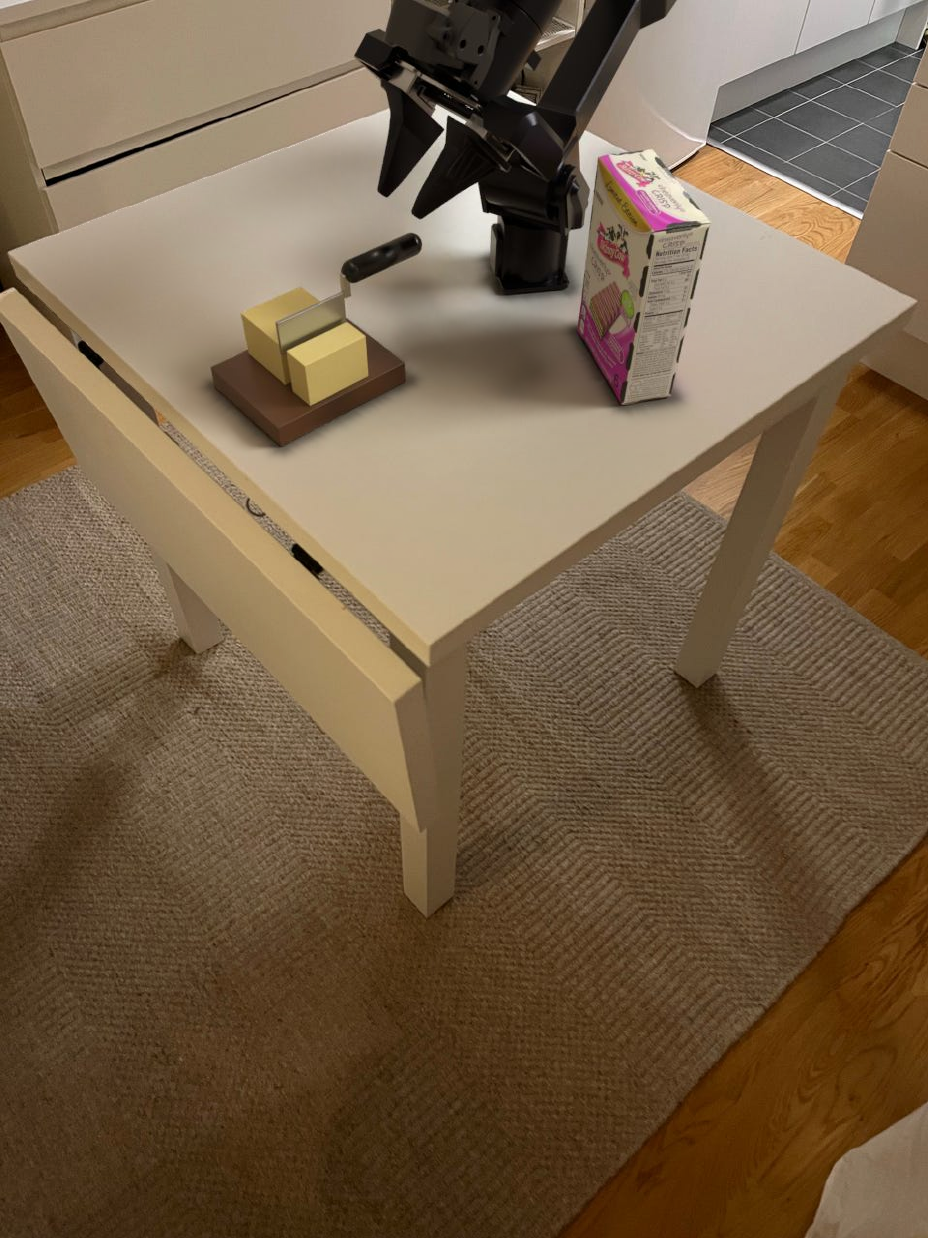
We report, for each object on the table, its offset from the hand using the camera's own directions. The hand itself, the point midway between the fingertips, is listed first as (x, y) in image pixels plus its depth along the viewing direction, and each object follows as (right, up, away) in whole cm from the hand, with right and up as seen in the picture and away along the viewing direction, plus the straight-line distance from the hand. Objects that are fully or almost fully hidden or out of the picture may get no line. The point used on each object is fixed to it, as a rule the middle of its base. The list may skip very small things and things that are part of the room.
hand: (398, 205), depth 75 cm
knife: (-4, -8, +4) cm, 10 cm away
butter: (-8, -11, +6) cm, 15 cm away
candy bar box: (+19, -10, +10) cm, 24 cm away
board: (-8, -12, +8) cm, 16 cm away
